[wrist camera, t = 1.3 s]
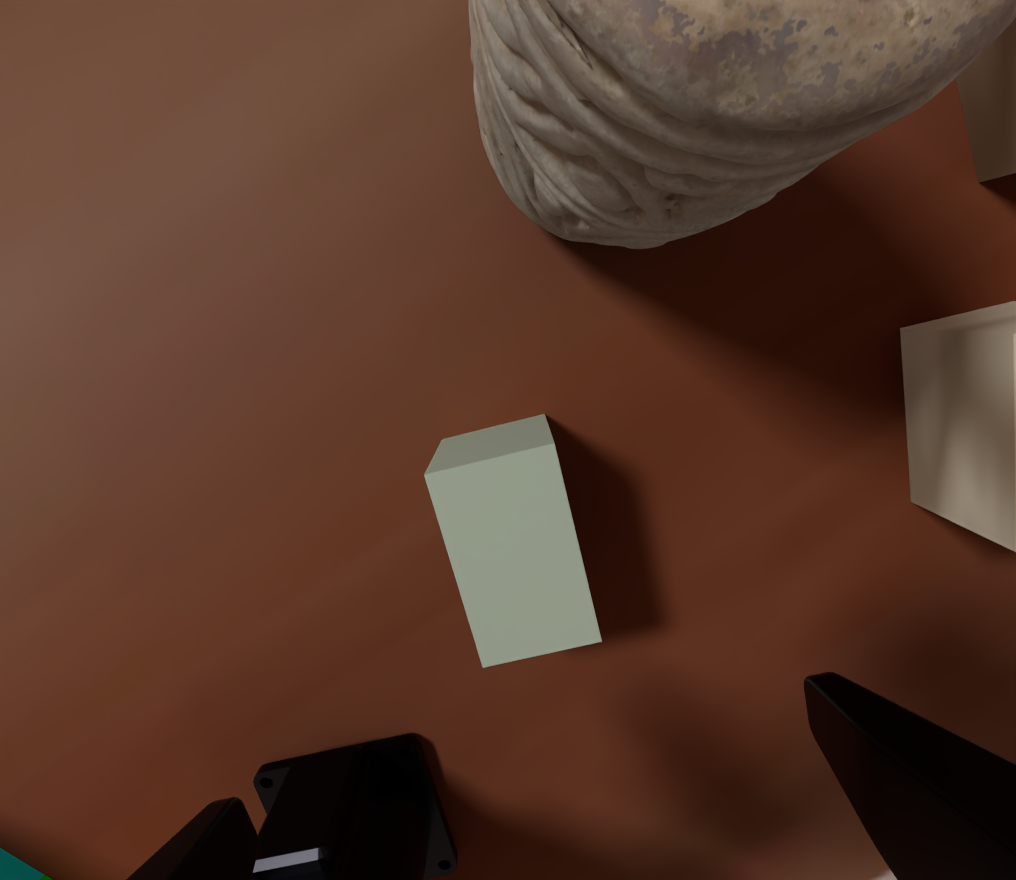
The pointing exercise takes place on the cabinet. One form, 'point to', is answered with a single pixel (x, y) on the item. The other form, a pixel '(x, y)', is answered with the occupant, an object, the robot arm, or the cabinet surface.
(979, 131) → the walnut brick
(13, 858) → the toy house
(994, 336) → the birch brick
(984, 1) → the carving
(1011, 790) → the robot arm
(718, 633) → the cabinet surface
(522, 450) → the sage brick
